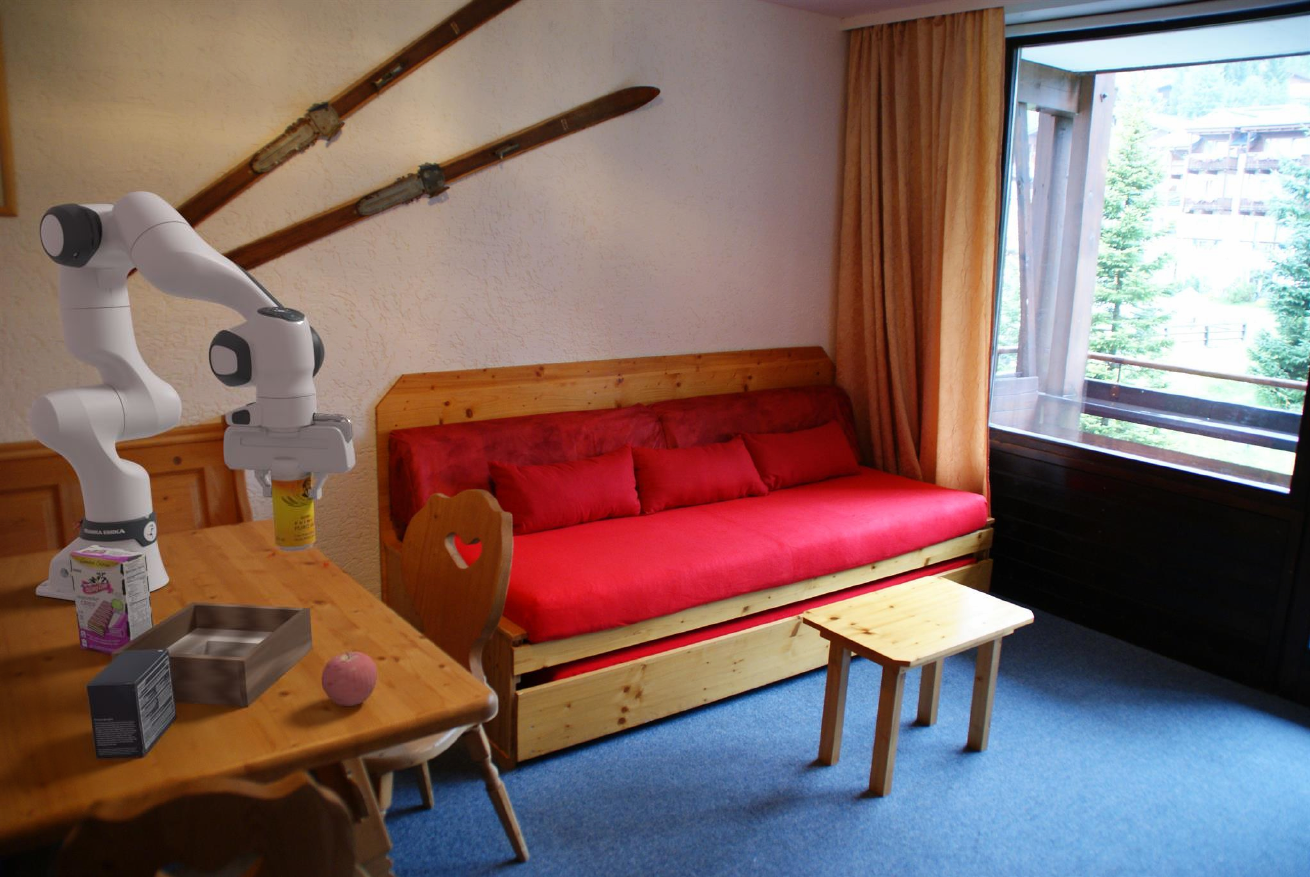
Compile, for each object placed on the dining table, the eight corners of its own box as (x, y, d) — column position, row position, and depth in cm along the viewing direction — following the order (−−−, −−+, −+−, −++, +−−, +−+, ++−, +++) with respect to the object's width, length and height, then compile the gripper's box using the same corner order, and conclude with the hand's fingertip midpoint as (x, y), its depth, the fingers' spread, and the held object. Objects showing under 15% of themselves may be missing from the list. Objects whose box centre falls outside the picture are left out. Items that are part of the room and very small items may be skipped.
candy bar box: (78, 650, 154) (66, 552, 151) (104, 638, 159) (94, 543, 156) (131, 660, 151) (121, 560, 147) (157, 648, 155) (147, 551, 152)
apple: (356, 719, 133) (353, 665, 131) (313, 710, 135) (309, 657, 134) (388, 696, 139) (386, 644, 138) (346, 687, 142) (343, 637, 140)
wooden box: (116, 698, 138) (111, 653, 137) (196, 642, 157) (192, 602, 156) (248, 706, 136) (244, 660, 134) (312, 648, 155) (309, 608, 154)
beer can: (302, 553, 151) (296, 461, 148) (267, 550, 152) (261, 458, 149) (323, 541, 157) (317, 452, 154) (289, 539, 158) (283, 450, 155)
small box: (129, 719, 132) (121, 648, 130) (178, 718, 133) (171, 647, 130) (92, 759, 122) (82, 683, 120) (145, 758, 122) (137, 681, 120)
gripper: (359, 411, 152) (363, 495, 155) (236, 406, 154) (242, 490, 157) (343, 418, 146) (347, 505, 149) (215, 413, 148) (221, 500, 150)
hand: (292, 497), depth 153 cm, fingers closed on beer can, 6 cm apart
